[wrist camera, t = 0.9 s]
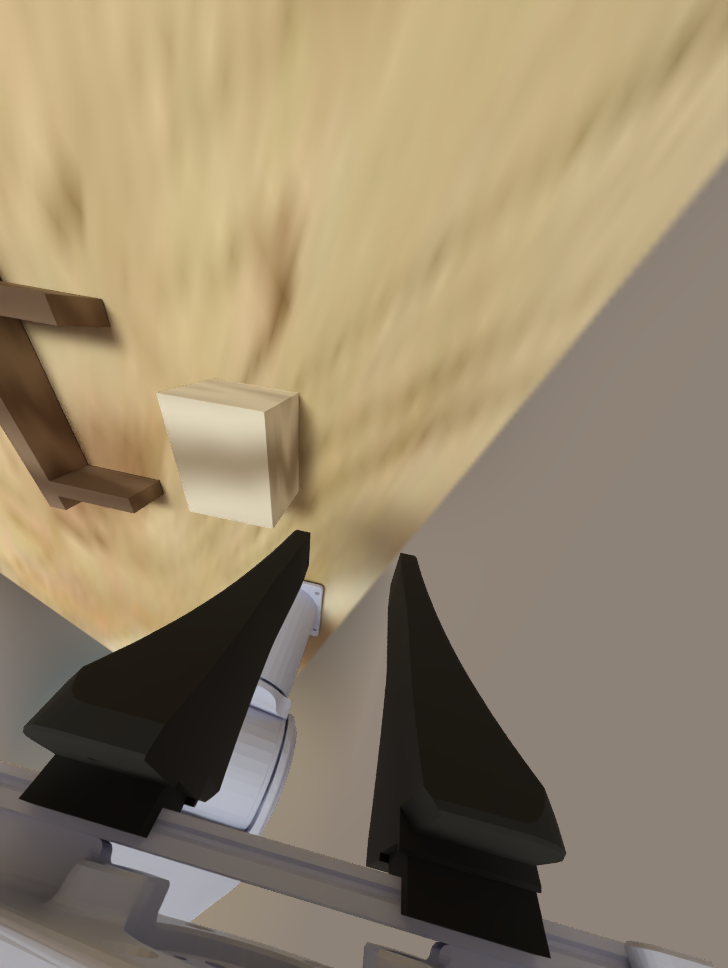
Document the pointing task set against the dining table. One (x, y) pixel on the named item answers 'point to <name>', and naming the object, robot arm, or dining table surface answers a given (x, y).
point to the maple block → (235, 448)
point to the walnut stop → (54, 406)
